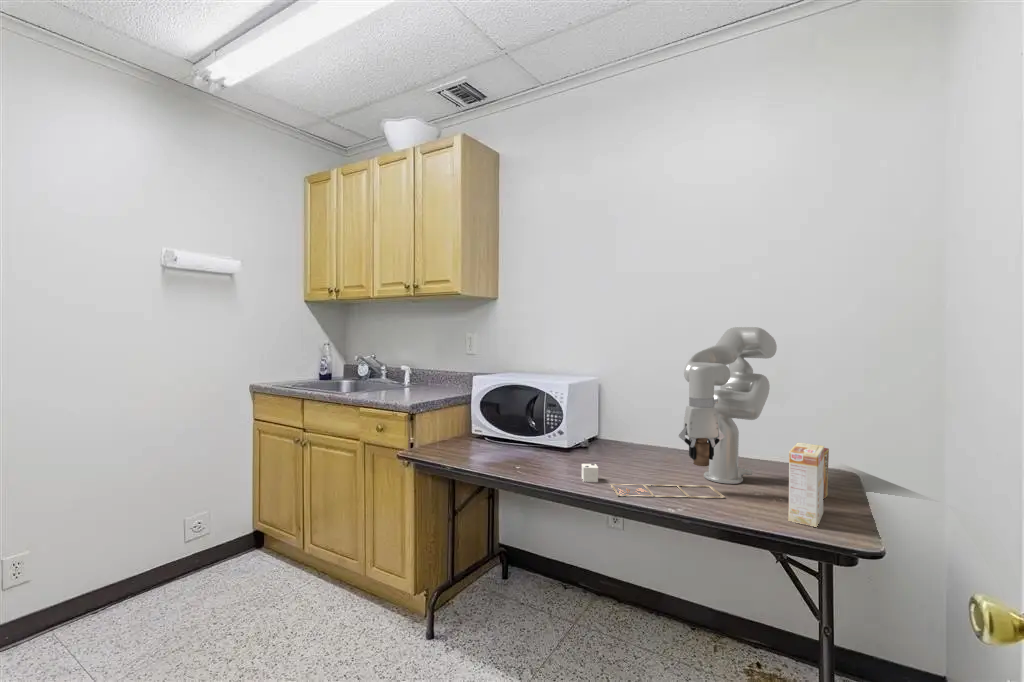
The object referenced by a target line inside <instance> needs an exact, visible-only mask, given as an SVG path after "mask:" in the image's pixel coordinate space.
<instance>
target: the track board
mask: <svg viewBox="0 0 1024 682" xmlns="http://www.w3.org/2000/svg"><path fill="white" fill-rule="evenodd" d="M610 485H611V486H610ZM613 485H643V486H644V487H645V488H646V489H647V490H648V491H649V493H650V494H651V495H629V494H626V495H622V494H624V493H626V492H624V491H623V490H621V489H619V488H618V489H619V490H620V491H619V493H618V492H617V490H616V489H615V487H614V486H613ZM646 485H648V486H646ZM651 485H652V484H645V483H644V484H643V483H642V484H638V483H633V484H631V483H630V484H629V483H610V484H609V486H610V487H611V489H612V488H613V489H612V490H614V491H615V492H614V491H613V492H614V494H615V493H616V494H615V496H616V495H617V496H649V497H652V496H653V497H688V498H687V499H705V498H726V499H727V497H726V496H725V495H723V494H722V493H721V492H719V490H717V489H716V488H715V487H713V486H712V485H703V484H702V485H701V484H700V485H695V484H694V485H692V484H685V485H684V484H653V485H654V486H677V487H678V488H679V489H680V490H681V491H682V492H683V493H684V494H685V495H686V496H685V495H684V494H683V493H682V492H681V491H680V490H679V489H678V488H677V487H676V488H677V489H678V490H679V491H680V492H681V493H682V494H683V495H657V494H656V495H655V494H654V493H653V492H652V491H651V490H650V488H649V487H652V486H651ZM679 486H682V487H679ZM682 488H683V489H682ZM684 488H710V489H711V490H712V492H714V493H715V494H717V496H712V495H711V496H705V495H703V496H702V495H701V496H699V495H689V493H688V492H686V491H685V490H684ZM638 489H639V490H638ZM638 489H636V490H637V491H641V492H644V491H645V492H648V491H646V490H644V489H642V488H638ZM621 491H622V492H624V493H622V492H621ZM626 491H627V493H629V492H630V490H629V489H627V488H626ZM628 491H629V492H628ZM637 491H635V492H637ZM620 493H622V494H620ZM633 493H634V492H633ZM637 493H638V492H637ZM619 494H620V495H619ZM638 494H640V493H638ZM719 495H720V496H719ZM617 496H616V497H617ZM649 497H648V498H649Z"/></svg>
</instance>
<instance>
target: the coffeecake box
mask: <svg viewBox="0 0 1024 682" xmlns="http://www.w3.org/2000/svg"><path fill="white" fill-rule="evenodd" d="M824 448H825V445H820V444H812V443H808V442H796V444H795V445H794V446H792V448H791V449H790V450H789V451H788V514H787V515H788V519H787V521H792V522H796V523H800V524H806V525H810V526H814V527H817V526H818V527H819V525H820V522H821V520H822V518H823V515H824V500H823V493H824ZM818 524H819V525H818ZM818 527H817V528H818Z"/></svg>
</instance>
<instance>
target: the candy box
mask: <svg viewBox="0 0 1024 682" xmlns="http://www.w3.org/2000/svg"><path fill="white" fill-rule="evenodd" d="M829 451H830V449H829V448H828V447H824V493H823V499H824V498H825V499H826V497H828V485H829V484H828V481H829V480H828V479H829V457H830V455H829V454H830V452H829ZM825 499H824V500H825Z"/></svg>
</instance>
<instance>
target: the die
mask: <svg viewBox="0 0 1024 682" xmlns="http://www.w3.org/2000/svg"><path fill="white" fill-rule="evenodd" d="M582 479H583V480H582ZM581 480H582V482H583V483H599V466H598V465H597V464H596V463H581ZM584 481H585V482H584ZM586 481H587V482H586Z"/></svg>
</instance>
